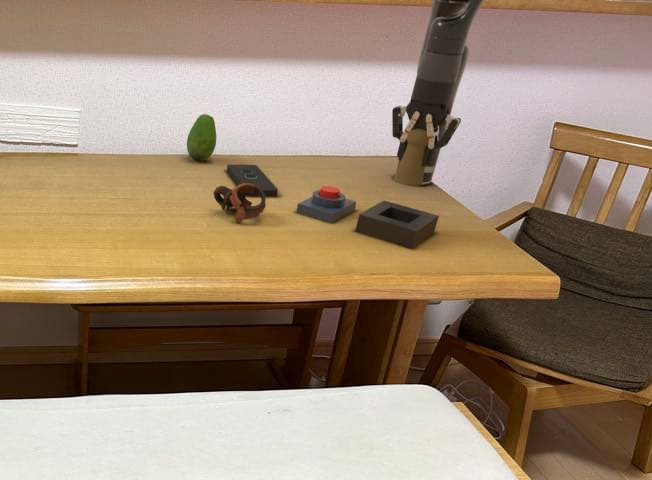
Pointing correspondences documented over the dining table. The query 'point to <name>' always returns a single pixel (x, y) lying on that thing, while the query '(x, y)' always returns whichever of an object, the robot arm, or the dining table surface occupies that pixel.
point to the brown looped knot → (240, 200)
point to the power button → (329, 192)
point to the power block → (326, 207)
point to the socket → (397, 224)
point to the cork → (413, 159)
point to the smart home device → (252, 179)
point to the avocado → (202, 138)
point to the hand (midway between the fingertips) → (413, 162)
